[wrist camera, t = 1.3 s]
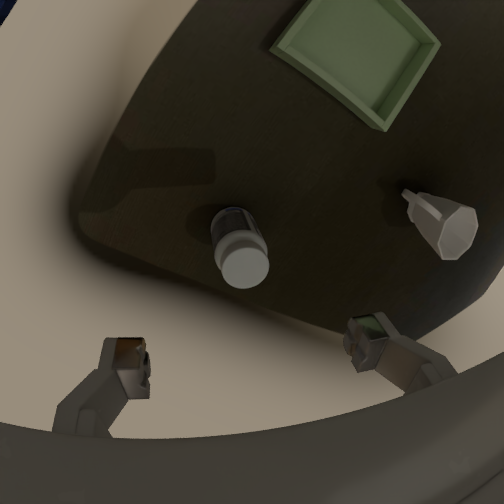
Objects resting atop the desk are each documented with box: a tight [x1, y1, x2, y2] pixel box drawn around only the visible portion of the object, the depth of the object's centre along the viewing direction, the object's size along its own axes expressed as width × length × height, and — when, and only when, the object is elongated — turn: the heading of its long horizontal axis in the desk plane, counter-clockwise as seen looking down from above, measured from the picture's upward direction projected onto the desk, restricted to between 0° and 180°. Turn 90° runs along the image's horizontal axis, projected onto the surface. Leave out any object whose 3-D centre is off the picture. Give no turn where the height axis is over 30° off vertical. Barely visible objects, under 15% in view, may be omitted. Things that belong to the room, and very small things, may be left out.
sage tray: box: [269, 0, 441, 132], centre depth 24 cm, size 14×14×3 cm
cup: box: [401, 189, 478, 260], centre depth 32 cm, size 7×10×8 cm
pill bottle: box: [211, 207, 269, 288], centre depth 29 cm, size 5×5×8 cm
